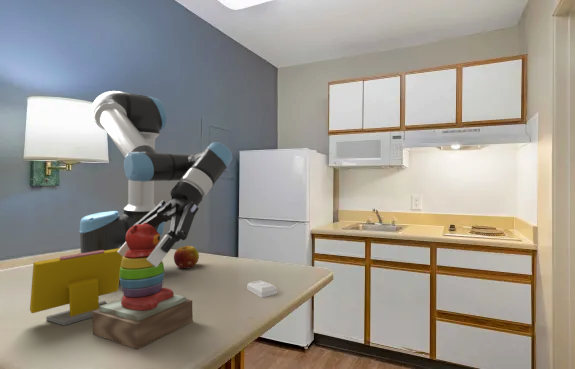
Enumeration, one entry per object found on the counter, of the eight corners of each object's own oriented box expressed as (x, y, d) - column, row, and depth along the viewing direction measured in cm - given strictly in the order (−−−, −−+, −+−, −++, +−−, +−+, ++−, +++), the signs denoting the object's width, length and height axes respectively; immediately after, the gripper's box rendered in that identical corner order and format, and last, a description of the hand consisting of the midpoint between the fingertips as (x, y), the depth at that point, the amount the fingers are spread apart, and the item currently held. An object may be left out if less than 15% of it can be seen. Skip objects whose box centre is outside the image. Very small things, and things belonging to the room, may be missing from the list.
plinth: (92, 334, 75) (92, 307, 75) (150, 310, 88) (149, 287, 88) (137, 349, 67) (136, 319, 67) (192, 321, 80) (192, 296, 80)
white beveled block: (262, 298, 96) (261, 289, 96) (247, 290, 104) (247, 281, 104) (276, 295, 99) (276, 285, 99) (261, 287, 106) (261, 279, 106)
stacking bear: (149, 311, 71) (147, 227, 71) (108, 309, 73) (105, 226, 73) (177, 294, 82) (175, 220, 81) (139, 292, 84) (137, 220, 84)
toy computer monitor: (116, 300, 96) (114, 245, 96) (129, 306, 91) (127, 248, 91) (30, 324, 81) (28, 258, 81) (40, 333, 76) (38, 263, 76)
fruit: (168, 269, 130) (168, 248, 130) (182, 263, 139) (182, 244, 138) (190, 270, 127) (190, 249, 127) (203, 264, 136) (203, 245, 136)
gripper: (231, 200, 82) (178, 277, 70) (173, 198, 97) (122, 261, 86) (213, 178, 77) (153, 256, 66) (155, 180, 93) (99, 243, 82)
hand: (135, 259), depth 76 cm, fingers open, 13 cm apart
